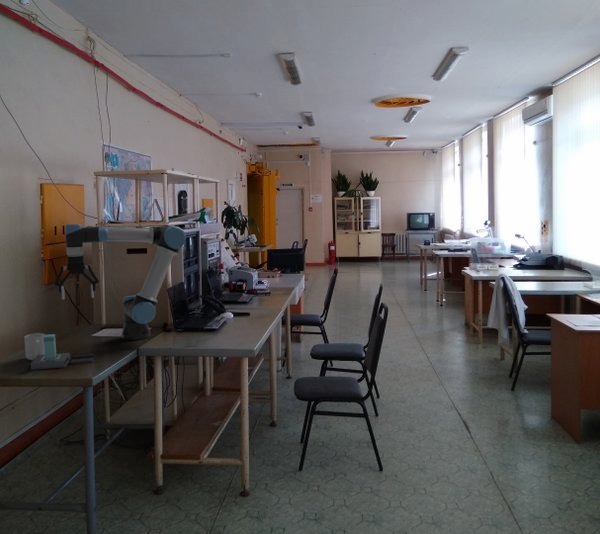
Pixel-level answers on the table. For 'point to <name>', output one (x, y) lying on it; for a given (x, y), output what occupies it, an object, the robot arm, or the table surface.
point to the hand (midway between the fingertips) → (78, 298)
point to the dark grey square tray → (82, 359)
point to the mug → (34, 345)
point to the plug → (50, 346)
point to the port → (50, 362)
